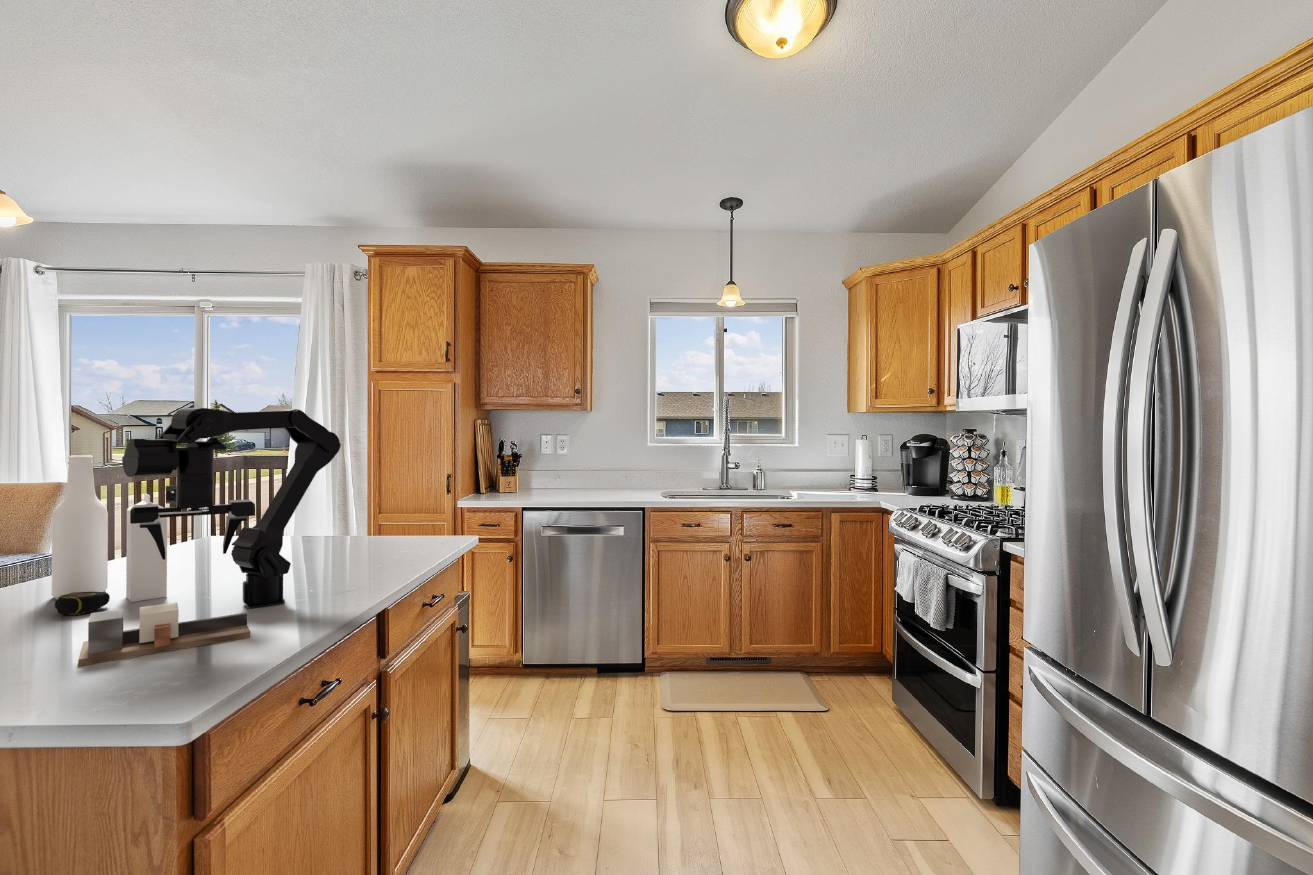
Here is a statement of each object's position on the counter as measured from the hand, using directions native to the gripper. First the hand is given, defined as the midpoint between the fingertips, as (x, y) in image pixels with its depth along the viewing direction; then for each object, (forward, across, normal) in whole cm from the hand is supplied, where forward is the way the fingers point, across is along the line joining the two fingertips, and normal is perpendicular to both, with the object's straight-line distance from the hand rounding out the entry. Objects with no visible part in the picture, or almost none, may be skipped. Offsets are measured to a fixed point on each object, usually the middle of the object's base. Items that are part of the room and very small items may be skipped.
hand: (194, 556), depth 117 cm
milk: (+12, +7, -25) cm, 29 cm away
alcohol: (+12, +18, -35) cm, 41 cm away
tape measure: (+12, +17, -19) cm, 29 cm away
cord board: (+12, +4, +13) cm, 18 cm away
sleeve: (+11, +5, +13) cm, 18 cm away
